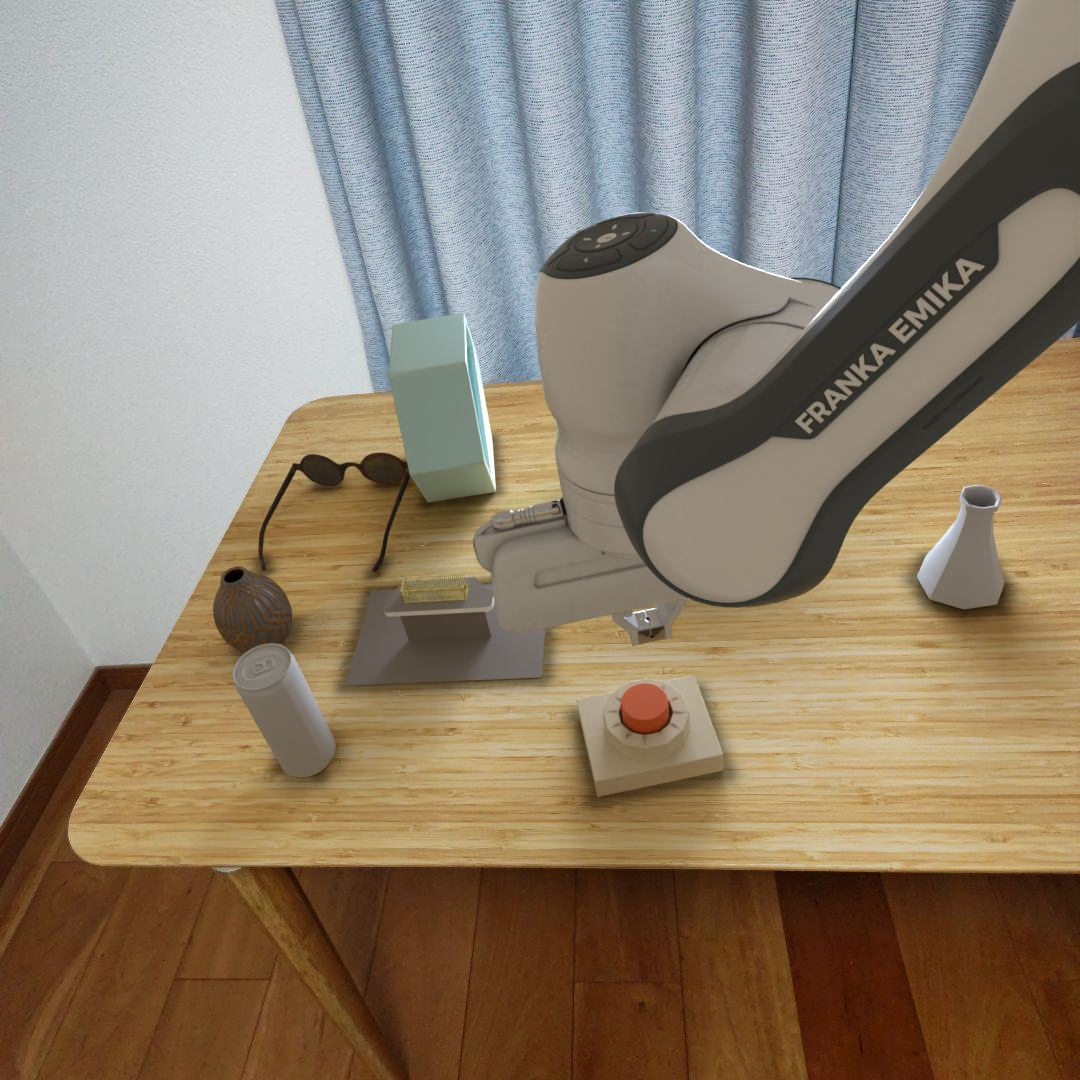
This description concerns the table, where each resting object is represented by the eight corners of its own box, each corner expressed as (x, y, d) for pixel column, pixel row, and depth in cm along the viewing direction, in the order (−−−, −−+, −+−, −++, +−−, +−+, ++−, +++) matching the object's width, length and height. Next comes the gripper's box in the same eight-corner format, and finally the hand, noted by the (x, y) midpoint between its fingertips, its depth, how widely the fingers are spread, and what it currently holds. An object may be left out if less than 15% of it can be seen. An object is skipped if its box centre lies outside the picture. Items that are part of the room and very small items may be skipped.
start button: (662, 692, 71) (661, 678, 70) (674, 728, 69) (673, 715, 68) (618, 701, 71) (616, 687, 70) (628, 738, 69) (626, 724, 68)
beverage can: (278, 745, 77) (227, 655, 69) (332, 724, 78) (288, 633, 70) (286, 789, 74) (233, 700, 66) (342, 767, 75) (297, 676, 67)
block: (695, 691, 76) (693, 660, 73) (723, 770, 70) (723, 740, 67) (578, 715, 75) (573, 685, 73) (597, 797, 69) (592, 768, 67)
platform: (371, 590, 90) (353, 543, 86) (548, 580, 88) (539, 531, 83) (345, 685, 81) (324, 638, 77) (542, 677, 79) (531, 627, 74)
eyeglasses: (419, 482, 102) (409, 446, 99) (384, 573, 92) (372, 537, 88) (301, 483, 105) (287, 449, 102) (253, 573, 95) (236, 538, 91)
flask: (918, 608, 79) (936, 523, 72) (914, 551, 84) (930, 467, 77) (1009, 615, 77) (1036, 528, 70) (999, 556, 82) (1023, 471, 75)
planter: (501, 506, 104) (478, 443, 84) (435, 516, 104) (397, 456, 84) (483, 374, 109) (457, 284, 89) (419, 384, 109) (379, 297, 89)
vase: (315, 621, 88) (286, 557, 82) (272, 674, 84) (238, 610, 78) (260, 606, 91) (228, 542, 85) (216, 656, 86) (179, 593, 80)
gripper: (470, 555, 52) (512, 701, 61) (814, 482, 52) (803, 638, 61) (462, 489, 57) (501, 633, 66) (777, 423, 57) (772, 576, 66)
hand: (649, 635), depth 64 cm, fingers closed
